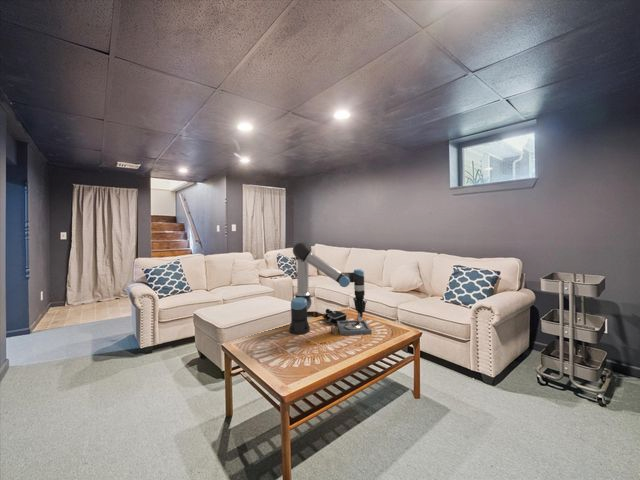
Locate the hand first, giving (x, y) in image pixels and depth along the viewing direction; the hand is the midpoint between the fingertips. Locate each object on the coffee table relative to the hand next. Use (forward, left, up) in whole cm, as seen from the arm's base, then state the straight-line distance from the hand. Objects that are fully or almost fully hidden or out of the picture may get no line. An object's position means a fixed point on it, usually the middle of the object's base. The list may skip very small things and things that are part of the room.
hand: (360, 320), depth 221 cm
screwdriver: (-21, -5, -5) cm, 22 cm away
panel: (-6, -4, -4) cm, 8 cm away
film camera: (-19, +16, -5) cm, 25 cm away
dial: (-6, -3, -3) cm, 8 cm away
